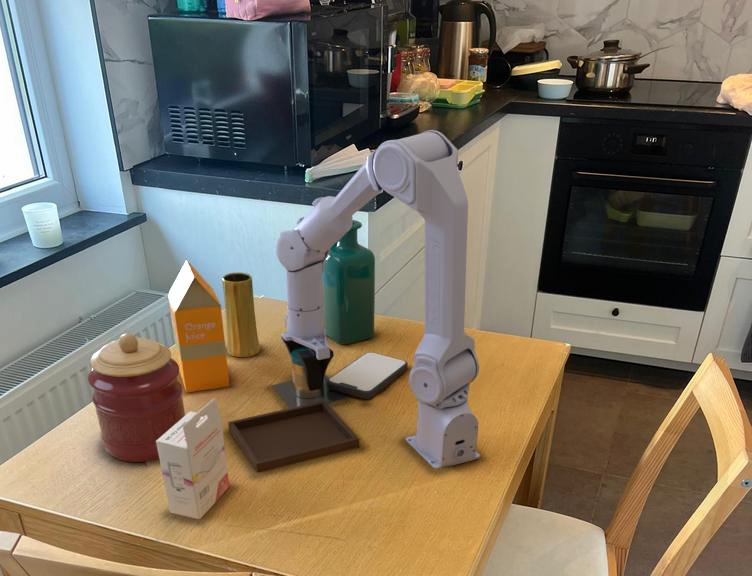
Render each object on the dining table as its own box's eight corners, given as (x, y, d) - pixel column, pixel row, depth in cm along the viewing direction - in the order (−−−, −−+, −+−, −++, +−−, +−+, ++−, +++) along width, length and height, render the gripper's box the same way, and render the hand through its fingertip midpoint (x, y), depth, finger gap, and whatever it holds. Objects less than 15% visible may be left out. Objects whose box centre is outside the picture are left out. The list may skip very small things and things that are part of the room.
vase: (257, 358, 144) (251, 283, 136) (225, 357, 144) (216, 283, 136) (262, 344, 149) (256, 271, 140) (230, 343, 149) (222, 271, 141)
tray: (359, 449, 118) (359, 438, 117) (257, 475, 112) (256, 464, 111) (324, 410, 128) (324, 400, 127) (229, 432, 122) (227, 421, 121)
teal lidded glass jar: (329, 395, 131) (328, 357, 127) (300, 401, 129) (297, 363, 125) (317, 381, 135) (315, 344, 131) (288, 388, 133) (286, 350, 129)
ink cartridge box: (200, 481, 111) (186, 389, 102) (230, 488, 109) (220, 395, 101) (167, 515, 104) (150, 419, 95) (199, 523, 103) (185, 427, 94)
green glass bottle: (378, 337, 152) (379, 223, 139) (341, 347, 148) (339, 230, 135) (351, 320, 158) (351, 210, 146) (316, 329, 155) (311, 217, 142)
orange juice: (185, 392, 132) (168, 279, 121) (178, 371, 139) (162, 261, 128) (230, 386, 134) (218, 273, 123) (221, 365, 141) (209, 256, 130)
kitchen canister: (85, 445, 118) (59, 337, 108) (152, 412, 127) (133, 309, 117) (140, 474, 112) (118, 362, 102) (207, 437, 120) (192, 331, 110)
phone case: (367, 358, 144) (323, 389, 132) (367, 350, 143) (323, 380, 131) (410, 369, 141) (369, 402, 129) (410, 361, 140) (369, 393, 128)
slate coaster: (347, 401, 130) (347, 398, 130) (292, 413, 127) (292, 410, 126) (324, 376, 138) (324, 373, 137) (271, 388, 134) (271, 385, 134)
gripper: (265, 293, 127) (271, 368, 135) (298, 325, 116) (302, 405, 124) (305, 287, 129) (308, 361, 137) (341, 317, 119) (342, 396, 127)
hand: (308, 381), depth 131 cm, fingers closed on teal lidded glass jar, 5 cm apart
